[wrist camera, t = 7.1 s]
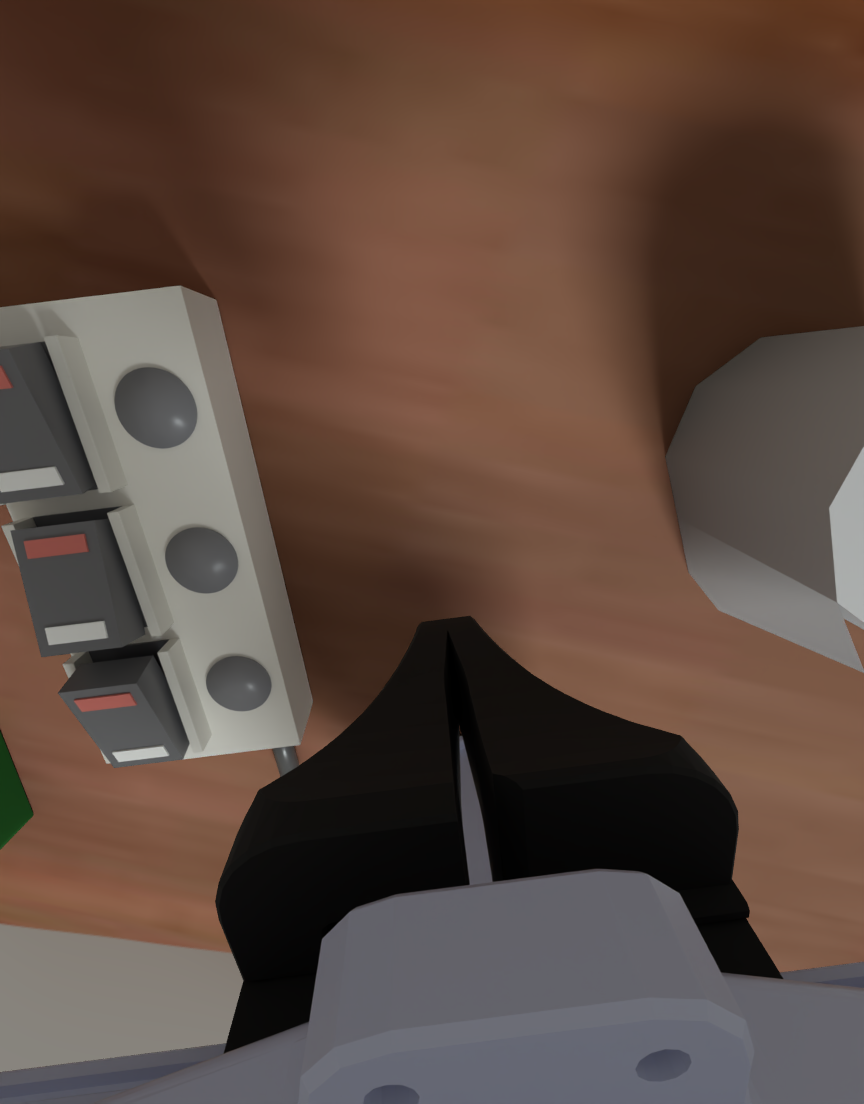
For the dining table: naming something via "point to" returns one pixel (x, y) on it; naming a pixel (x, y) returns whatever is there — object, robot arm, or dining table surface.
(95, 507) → the switch panel
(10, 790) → the milk carton
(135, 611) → the rocker
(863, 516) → the toilet tissue
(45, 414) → the rocker
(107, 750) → the rocker
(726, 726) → the dining table surface
